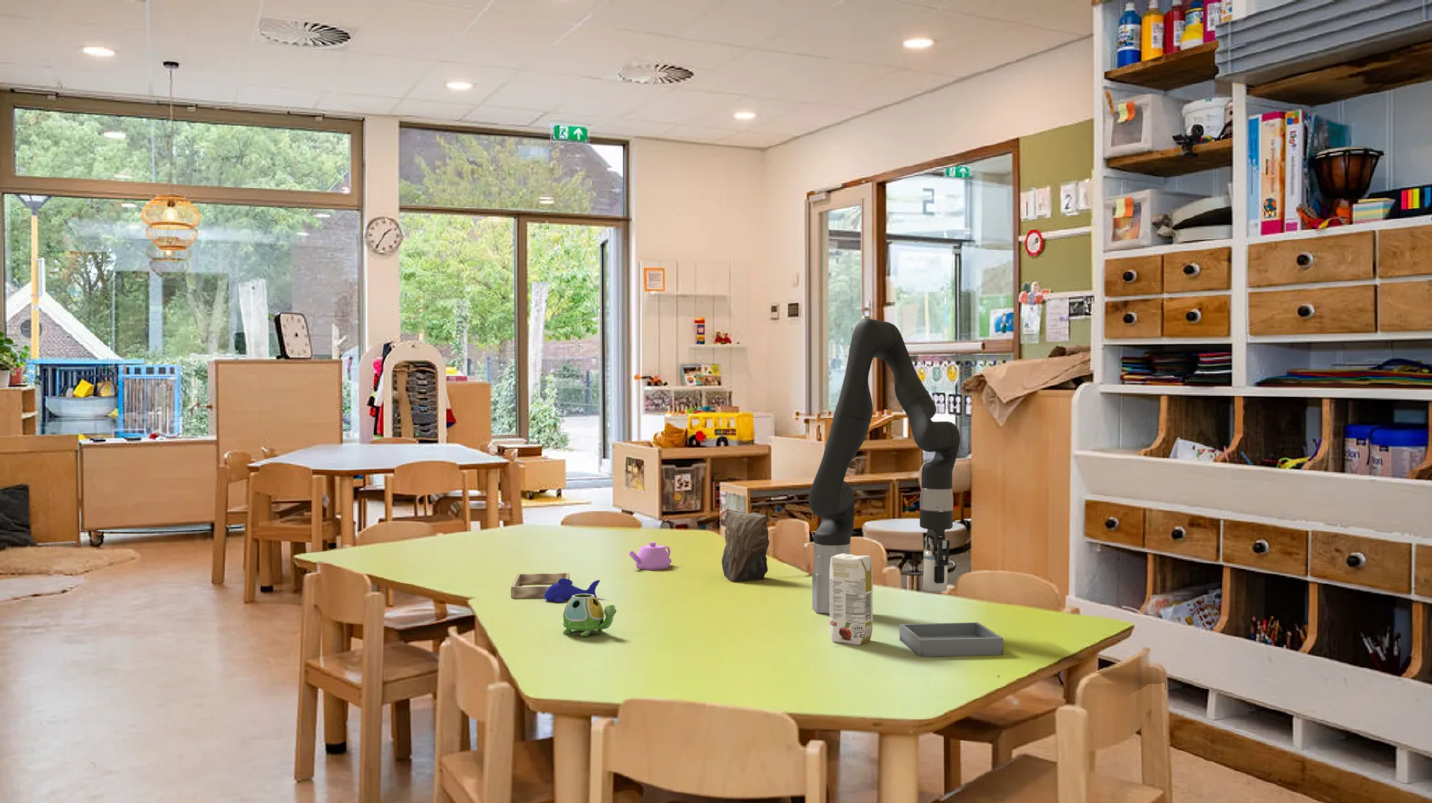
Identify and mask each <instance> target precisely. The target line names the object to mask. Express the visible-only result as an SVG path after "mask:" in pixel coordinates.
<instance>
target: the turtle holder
mask: <svg viewBox="0 0 1432 803" xmlns="http://www.w3.org/2000/svg"><path fill="white" fill-rule="evenodd" d="M567 601H568V602H566V604H565V607H564V609H563V613H562V617H563V618H562V620H563V623H562V625H563V627H564V628H565V629H564V630H563V631H562V634H565V635H566V634H567V635H569V634H571V632H572V631H582V632H581V633H580V634H579V635H580V636H581V637H589V635H590V633H591V631H595V630H596V631H599V632H600V631H603V630H606V629H607V630H608V628H610V627H611V625H612V623H613V621H614V616H615V614H616V613H617V609H616V606H615V605H614V604H608V605H605V606H604V609H603V606H602V603H601V602H600V600H599V599H598V597H595V596H594V595H592V594H576V595H573V596H572V598H571V599H570V600H567Z"/></svg>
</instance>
